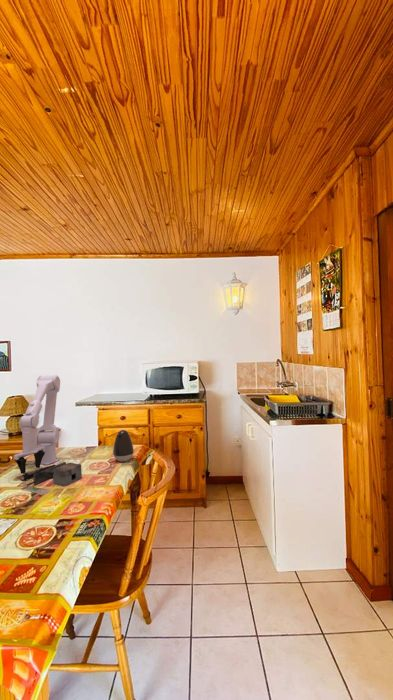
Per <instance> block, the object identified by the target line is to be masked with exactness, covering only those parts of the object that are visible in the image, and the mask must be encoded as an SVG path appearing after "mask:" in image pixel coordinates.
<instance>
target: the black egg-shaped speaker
mask: <svg viewBox="0 0 393 700" xmlns="http://www.w3.org/2000/svg"><path fill="white" fill-rule="evenodd" d="M134 452H135V451H134V444H133V441H132V438H131V436H130V433H129V432H128V431H127V430H125V429H122V430H121V429H120V430H119V431H118V432H117V434H116V436H115V439H114V443H113V448H112V454H113V456H114V459H115V460H116V461H118V462H121V463H123V462H128V461H130V460H131V459H132V458H133V455H134Z"/></svg>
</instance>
